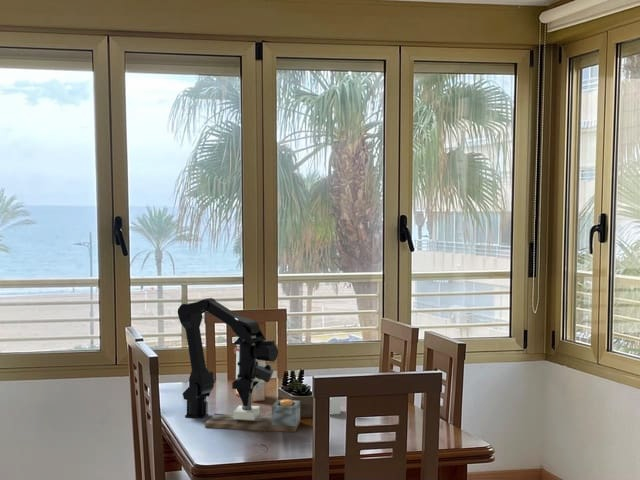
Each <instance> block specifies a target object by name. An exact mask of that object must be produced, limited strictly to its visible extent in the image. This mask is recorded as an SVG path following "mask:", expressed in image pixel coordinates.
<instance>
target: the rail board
mask: <svg viewBox="0 0 640 480" xmlns="http://www.w3.org/2000/svg"><path fill="white" fill-rule="evenodd" d="M281 400H282V399H276V400H275V402H274V403H273V405H271V415H258V416H257V417H256V418H255V420H242V419H233V414H234V413H233V414H231V413H214V414H213V415H212V416H210V418H208V419H207V420H206V421H205V422H204V423H205V424H204V427H205V428H209V429H210V428H211V429H227V430H229V429H231V430H249V431H271V432H287V433H288V432H291V433H296V431H297V429H298V427H299V425H300V423H301V400H292V399H291V400H292V406H280V401H281Z"/></svg>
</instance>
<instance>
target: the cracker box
mask: <svg viewBox="0 0 640 480" xmlns="http://www.w3.org/2000/svg"><path fill="white" fill-rule="evenodd" d="M235 345H236V344H235ZM235 352H236V353H235V354H236V355H235V356H236V358H235V380H236V379H237V376H238V374H239V366H238V362H239V345H236V351H235ZM256 361H257V362H258V365H259V366H263V367H265V366H266V365H267V364H266V362H267V361H263V360H257V359H256ZM255 381H259V382H258V384H257V385H255V387H254V389H253V392H252V403H253V402H263V401H265V400H266V382H265V381H264V380H262V379H260V380H258V378H255ZM234 395H235V396H237V397H240V395H239V393H238V391H237V389H235V394H234Z"/></svg>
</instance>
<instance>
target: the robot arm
mask: <svg viewBox="0 0 640 480" xmlns="http://www.w3.org/2000/svg"><path fill="white" fill-rule="evenodd" d="M206 312H208V313H209V314H210V315H212V316H214V317H215V318H216V319H218V320H220V321H221V322H223V323H224V324H226V325H227V326H229V327H230V329H232V332H233V334H235V336H237V339H236V340H235V341H234V342H233V344H234V345H239V362H238V366H239V374H238V376H237V379H236V378H235V380H233V382H232V384H231V389H232V390H236V389H237V391H238V393H239V395H240V396H239V398H240V399H241V403H242V402H243V405H244V406H248V401H249V395H250V393H251V394H252V392H253V389H254V387H255V385H257V384H258V382H259V381H255V378H258V380H260V379H262V380H264V381H265V383H269V382H270V381H271V379H272V376H273V374H274V371H273V369H272V365H270V364H266V366H265V367H263V366H259V365H258V362H257V361H256V359H257V360H263V361H266V362H275V361H276V360H277V358H278V354H279V350H278V347H277V345H276V344H275V340H273V339H272V340H267V339H266V338H265V336H264V333H263V332H262V330H261V328H260V324H259V323H258V322H257V321H256V320H254V319H251V318H248V317H244V316H240V315H239V314H237V313H236V312H234V311H232V310H230V309H229V308H227V307H226V306H225V305H223V304H221V303H220V302H218V301H216V299H215V298H212V297H209V298H207V297H206V298H202V299H200V300H197V301H196V302H189V303H187V302H186V303H182V304H181V305H179V307H178V308H177V315H178V316H177V317H178V320H179V323H180V324H181V326H182V327H183V328H184V329H185V335H186V341H187V347H188V353H189V354H188V355H189V362H190V368H191V372H190V373H189V374H190V375H189V377H188V387H187V388H186V389H185V391H183V392H182V396H183V400H185V401H186V414H185V415H184V417H185V418H198V419H199V418H201V419H202V418H204V417H206V415H208V413H209V402H208V401H207V397H210V395H211V393H212V391H213V389H214V387H215V383H216V381H215V380H214V373H213V371H209V370H208V369H207V366H206V361H205V353H204V348H203V347H204V346H203V341H202V334H201V328H200V327H201V324H202V321H203V314H204V313H206Z"/></svg>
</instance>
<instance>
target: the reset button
mask: <svg viewBox="0 0 640 480" xmlns="http://www.w3.org/2000/svg"><path fill="white" fill-rule="evenodd" d="M280 400H281V401H280V406H292V399H288V398H287V399H286V398H285V399H280Z"/></svg>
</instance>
